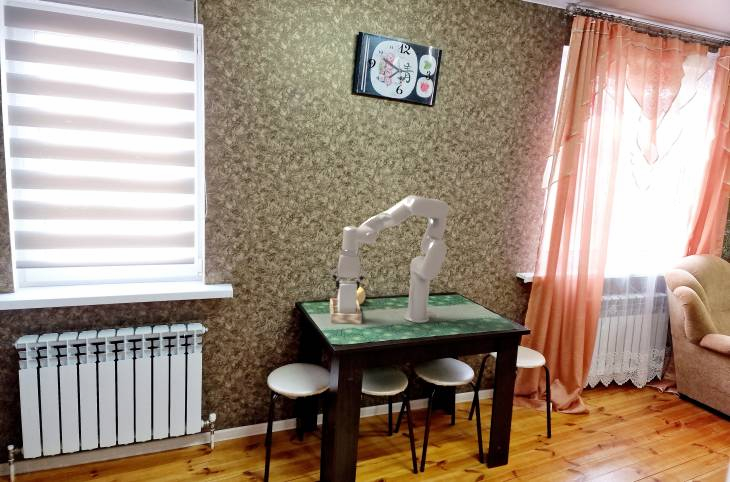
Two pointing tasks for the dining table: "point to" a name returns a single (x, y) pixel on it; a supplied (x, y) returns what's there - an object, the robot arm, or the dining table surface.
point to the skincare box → (347, 297)
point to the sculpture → (360, 295)
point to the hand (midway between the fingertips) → (347, 288)
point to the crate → (344, 317)
